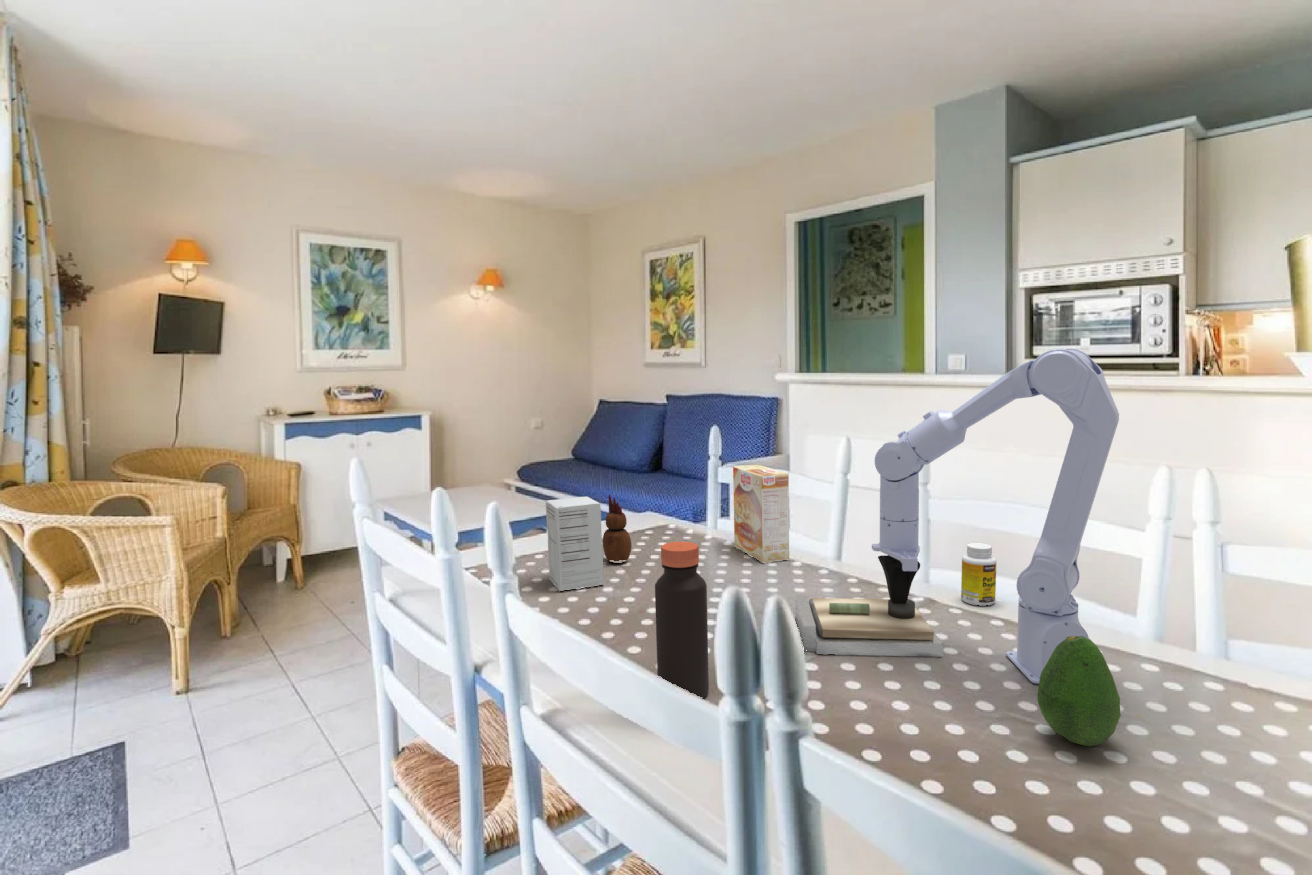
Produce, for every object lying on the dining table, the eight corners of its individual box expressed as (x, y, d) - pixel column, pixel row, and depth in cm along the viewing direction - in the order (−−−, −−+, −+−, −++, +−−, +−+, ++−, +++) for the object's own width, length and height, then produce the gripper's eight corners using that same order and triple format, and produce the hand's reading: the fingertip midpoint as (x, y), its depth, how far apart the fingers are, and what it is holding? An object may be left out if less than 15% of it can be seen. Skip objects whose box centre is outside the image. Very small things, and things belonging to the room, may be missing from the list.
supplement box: (605, 586, 138) (601, 503, 136) (559, 593, 134) (555, 507, 133) (591, 573, 147) (588, 495, 145) (548, 579, 143) (544, 499, 142)
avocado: (1088, 721, 82) (1092, 623, 81) (1135, 758, 75) (1140, 651, 73) (1021, 723, 82) (1024, 626, 81) (1061, 761, 74) (1065, 654, 73)
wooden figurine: (600, 560, 157) (597, 494, 155) (623, 556, 159) (621, 492, 157) (610, 567, 150) (608, 499, 149) (635, 563, 153) (633, 496, 151)
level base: (942, 656, 101) (942, 630, 101) (804, 654, 103) (804, 628, 103) (914, 616, 117) (914, 593, 116) (794, 615, 119) (794, 592, 119)
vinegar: (666, 708, 88) (661, 555, 86) (652, 685, 95) (647, 542, 93) (716, 700, 90) (713, 550, 88) (699, 678, 96) (695, 537, 94)
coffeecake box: (733, 547, 164) (731, 465, 162) (760, 544, 166) (759, 463, 164) (761, 564, 150) (760, 475, 148) (790, 560, 152) (790, 472, 150)
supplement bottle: (983, 609, 119) (985, 551, 118) (954, 600, 124) (955, 544, 123) (1002, 602, 123) (1003, 546, 121) (972, 594, 127) (973, 539, 126)
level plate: (933, 639, 102) (934, 618, 102) (818, 637, 104) (818, 616, 103) (909, 606, 116) (909, 588, 115) (808, 604, 118) (808, 586, 117)
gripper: (863, 508, 115) (863, 587, 117) (882, 529, 101) (881, 619, 102) (907, 507, 114) (906, 587, 116) (932, 528, 100) (931, 619, 101)
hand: (898, 602), depth 109 cm, fingers closed, pressing on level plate
